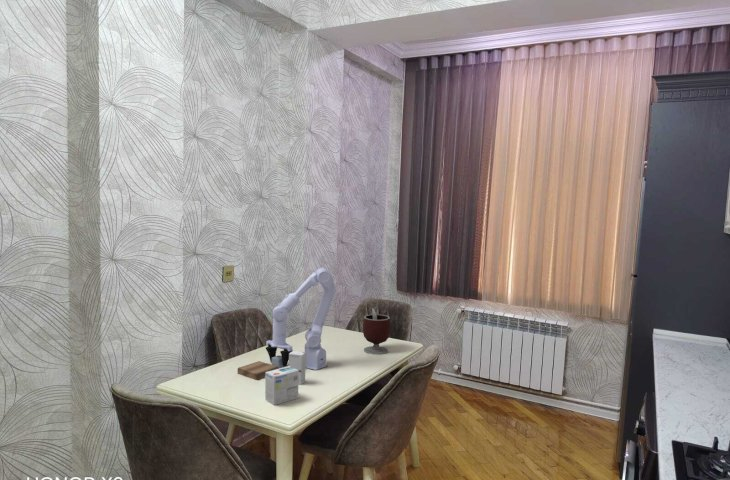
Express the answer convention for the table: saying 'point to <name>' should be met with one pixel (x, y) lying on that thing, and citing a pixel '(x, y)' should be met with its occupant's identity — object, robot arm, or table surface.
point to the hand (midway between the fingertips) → (278, 364)
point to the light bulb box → (281, 385)
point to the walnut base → (256, 370)
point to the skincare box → (298, 364)
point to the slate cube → (277, 361)
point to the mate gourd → (376, 332)
